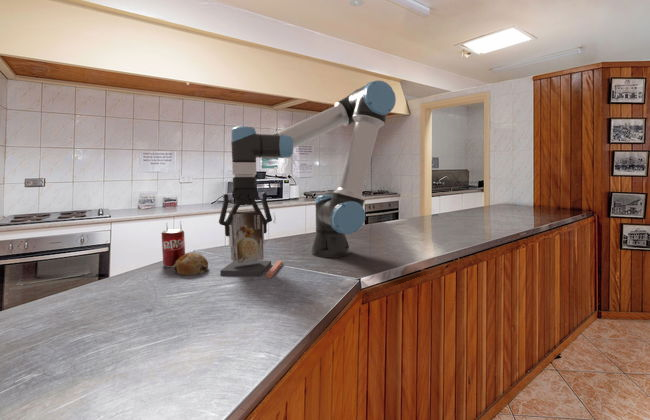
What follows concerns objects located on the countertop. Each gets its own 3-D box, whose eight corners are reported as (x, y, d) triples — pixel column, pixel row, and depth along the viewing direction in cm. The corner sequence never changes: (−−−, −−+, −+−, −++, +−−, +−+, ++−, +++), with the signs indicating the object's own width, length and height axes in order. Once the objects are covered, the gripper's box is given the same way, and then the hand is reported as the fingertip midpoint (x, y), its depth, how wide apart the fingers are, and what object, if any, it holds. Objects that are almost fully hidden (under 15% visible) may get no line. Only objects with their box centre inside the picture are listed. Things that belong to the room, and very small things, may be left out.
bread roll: (191, 287, 110) (200, 265, 109) (164, 272, 112) (173, 250, 110) (208, 278, 120) (216, 258, 119) (183, 264, 121) (191, 244, 120)
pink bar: (282, 264, 124) (282, 260, 124) (271, 277, 108) (271, 274, 108) (277, 264, 124) (277, 260, 124) (266, 277, 108) (266, 273, 108)
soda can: (163, 263, 125) (162, 230, 124) (185, 261, 128) (184, 228, 127) (162, 268, 119) (160, 233, 117) (185, 266, 121) (183, 232, 120)
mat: (271, 265, 123) (271, 260, 123) (260, 276, 110) (260, 271, 110) (234, 264, 124) (234, 260, 124) (220, 275, 111) (220, 270, 111)
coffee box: (256, 256, 122) (255, 209, 120) (264, 259, 116) (263, 211, 115) (230, 259, 117) (228, 211, 115) (237, 264, 111) (235, 213, 110)
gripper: (274, 175, 122) (275, 239, 124) (207, 176, 112) (210, 245, 115) (281, 175, 115) (282, 243, 117) (210, 176, 106) (213, 250, 108)
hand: (246, 244), depth 116 cm, fingers closed on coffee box, 9 cm apart
